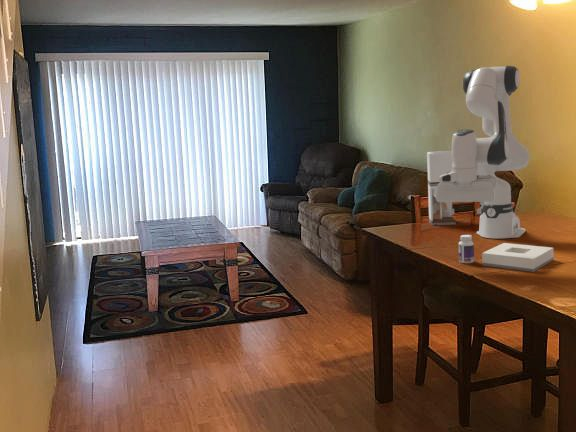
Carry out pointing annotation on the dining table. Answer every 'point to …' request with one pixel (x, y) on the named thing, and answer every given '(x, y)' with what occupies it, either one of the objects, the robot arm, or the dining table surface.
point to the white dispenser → (436, 167)
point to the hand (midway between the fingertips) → (465, 214)
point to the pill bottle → (466, 249)
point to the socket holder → (517, 257)
